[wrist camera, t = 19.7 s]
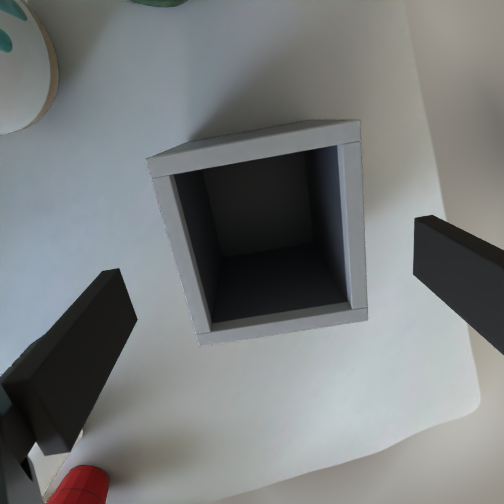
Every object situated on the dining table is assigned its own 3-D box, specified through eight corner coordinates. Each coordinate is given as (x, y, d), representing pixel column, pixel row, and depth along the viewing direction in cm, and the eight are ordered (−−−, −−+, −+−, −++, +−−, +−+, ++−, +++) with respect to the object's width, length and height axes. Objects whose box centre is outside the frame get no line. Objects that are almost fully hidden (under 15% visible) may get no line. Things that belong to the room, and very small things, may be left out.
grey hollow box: (368, 320, 21) (360, 119, 16) (199, 346, 21) (144, 158, 16) (322, 246, 33) (310, 119, 28) (215, 264, 33) (186, 142, 28)
